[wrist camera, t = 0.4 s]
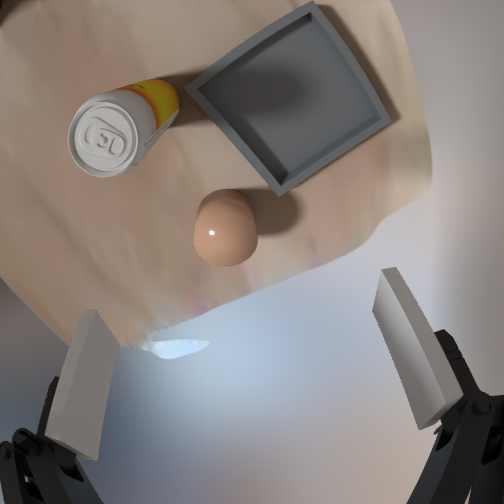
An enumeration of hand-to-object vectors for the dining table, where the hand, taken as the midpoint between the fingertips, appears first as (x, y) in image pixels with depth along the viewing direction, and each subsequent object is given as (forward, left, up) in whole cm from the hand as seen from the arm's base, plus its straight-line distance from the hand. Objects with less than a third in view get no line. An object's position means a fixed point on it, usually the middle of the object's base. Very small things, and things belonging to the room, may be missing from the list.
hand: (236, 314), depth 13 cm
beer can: (-10, -3, -25) cm, 27 cm away
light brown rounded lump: (+6, -6, -24) cm, 26 cm away
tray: (-1, +9, -24) cm, 26 cm away
